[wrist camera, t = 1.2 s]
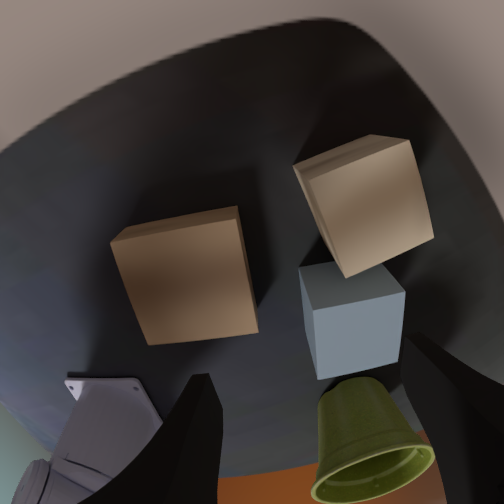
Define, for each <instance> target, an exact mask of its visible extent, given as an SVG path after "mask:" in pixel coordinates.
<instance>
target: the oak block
mask: <svg viewBox="0 0 504 504" xmlns="http://www.w3.org/2000/svg"><path fill="white" fill-rule="evenodd" d="M110 245H111V248H112V251H113V254H114V257H115V260H116V263H117V266H118V269H119V272H120V274H121V277H122V280H123V283H124V286H125V288H126V291H127V294H128V296H129V299H130V302H131V304H132V307H133V309H134V312H135V314H136V317H137V319H138V322H139V324H140V327H141V329H142V332H143V334H144V336H145V339H146V341H147V343H148V345H157V344H168V343H179V342H188V341H198V340H206V339H215V338H223V337H231V336H238V335H245V334H252V333H259V331H258V314H257V305H256V300H255V295H254V290H253V285H252V279H251V274H250V269H249V264H248V259H247V253H246V248H245V243H244V238H243V233H242V227H241V222H240V217H239V212H238V206H232V207H226V208H220V209H215V210H209V211H204V212H199V213H193V214H188V215H183V216H178V217H173V218H168V219H163V220H158V221H153V222H148V223H143V224H138V225H134V226H129V227H126V228H125V229H124V230H122V231H121V232H120V233H119V234H118V235H117V236H116V237H115V238H114V239H113V240H112V241H111V242H110Z"/></svg>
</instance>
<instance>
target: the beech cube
mask: <svg viewBox="0 0 504 504" xmlns="http://www.w3.org/2000/svg"><path fill="white" fill-rule="evenodd" d="M292 166H293V168H294V170H295V173H296V175H297V177H298V180H299V182H300V184H301V187H302V189H303V192H304V194H305V196H306V199H307V201H308V204H309V206H310V209H311V211H312V213H313V216H314V218H315V221H316V223H317V226H318V228H319V231H320V234H321V236H322V239H323V241H324V243H325V245H326V246H327V248H328V250H329V251H330V253H331V254H332V256H333V258H334V259H335V261H336V263H337V264H338V266H339V268H340V270H341V271H342V273H343V275H344V276H345V278H348V277H350V276H353V275H355V274H357V273H360V272H362V271H364V270H366V269H368V268H371V267H373V266H375V265H377V264H380V263H382V262H384V261H386V260H388V259H390V258H393V257H395V256H397V255H399V254H401V253H403V252H405V251H407V250H410V249H412V248H414V247H416V246H418V245H420V244H422V243H424V242H426V241H428V240H430V239H432V238H434V235H433V230H432V225H431V220H430V216H429V211H428V207H427V202H426V198H425V194H424V190H423V186H422V182H421V178H420V175H419V171H418V167H417V164H416V160H415V157H414V154H413V150H412V147H411V144H410V141H409V140H406V139H400V138H393V137H386V136H379V135H371V134H370V135H367V136H364V137H362V138H359V139H357V140H354V141H351V142H349V143H346V144H344V145H341V146H339V147H336V148H334V149H331V150H329V151H326V152H324V153H321V154H319V155H316V156H314V157H312V158H309V159H307V160H304V161H302V162H300V163H297V164H295V165H292Z"/></svg>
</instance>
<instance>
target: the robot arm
mask: <svg viewBox="0 0 504 504" xmlns="http://www.w3.org/2000/svg"><path fill="white" fill-rule="evenodd" d="M400 377H401V380H402V383H403V386H404V388H405V391H406V394H407V397H408V399H409V401H410V403H411V405H412V407H413V409H414V411H415V413H416V414H417V416H418V418H419V420H420V422H421V424H422V426H423V428H424V430H425V433H426V434H427V437H428V439H429V441H430V443H431V446H432V448H433V451H434V454H435V457H436V460H437V463H438V467H439V470H440V474H441V478H442V482H443V486H444V490H445V495H446V500H447V504H504V385H502V384H500V383H498V382H496V381H494V380H492V379H490V378H488V377H486V376H484V375H482V374H481V373H479V372H477V371H476V370H474V369H472V368H471V367H469V366H467V365H466V364H464V363H463V362H461V361H460V360H458V359H457V358H455V357H454V356H452V355H451V354H450V353H448V352H447V351H445V350H444V349H442V348H441V347H440V346H438V345H437V344H435V343H434V342H433V341H431V340H430V339H429V338H427V337H426V336H424V335H423V334H421V333H420V332H418V333H414V334H411V335H407V336H405V340H404V348H403V356H402V363H401V369H400ZM65 384H66V386H67V387H68V389H69V390H70V392H71V393H72V395H73V396H74V397H75V399H76V400H77V402H76V404H75V406H74V408H73V410H72V412H71V415H70V417H69V419H68V421H67V423H66V425H65V427H64V430H63V432H62V434H61V436H60V438H59V441H58V443H57V445H56V447H55V450H54V452H53V454H52V457H51V459H50V461H48V462H47V461H45V460H44V459H40V460H34V461H32V462H31V463H30V465H29V466H28V467H27V469H26V471H25V473H24V474H23V476H22V478H21V480H20V482H19V485H18V487H17V489H16V491H15V494H14V497H13V500H12V503H11V504H217V486H218V474H219V466H220V457H221V448H222V439H223V408H222V405H221V403H220V400H219V398H218V396H217V393H216V391H215V388H214V385H213V383H212V380H211V378H210V375H209V373H206V374H196V375H192V376H191V377H190V379H189V381H188V383H187V384H186V386H185V388H184V390H183V392H182V393H181V395H180V397H179V398H178V400H177V402H176V403H175V405H174V407H173V408H172V410H171V411H170V413H169V414H168V416H167V418H166V419H165V421H164V422H163V421H162V420H161V418H160V416H159V415H158V413H157V411H156V409H155V408H154V406H153V404H152V402H151V401H150V399H149V397H148V395H147V394H146V392H145V390H144V388H143V386H142V384H141V382H140V381H139V380H138V379H136V378H66V379H65Z"/></svg>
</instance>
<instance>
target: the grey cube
mask: <svg viewBox="0 0 504 504" xmlns="http://www.w3.org/2000/svg"><path fill="white" fill-rule="evenodd" d="M298 268H299V276H300V285H301V294H302V303H303V312H304V321H305V331H306V335H307V339H308V343H309V347H310V351H311V354H312V358H313V362H314V366H315V370H316V374H317V378H318V380H321V379H326V378H331V377H336V376H341V375H345V374H350V373H354V372H359V371H363V370H367V369H371V368H375V367H379V366H383V365H387V364H391V363H395V362H398V356H399V349H400V341H401V333H402V325H403V315H404V305H405V292H406V291H405V290H404V289H403V288H402V287H401V285H400V284H399V283H398V282H397V281H396V279H395V278H394V277H393V276H392V275H391V274H390V272H389V271H388V270H387V269H386V268H385V267H384V265H383V264H382V263H380V264H377V265H375V266H373V267H371V268H368V269H366V270H364V271H362V272H360V273H357V274H355V275H353V276H350V277H348V278H345V276H344V275H343V273H342V271H341V270H340V268H339V266H338V264H337V263H336V261H332V262H327V263H321V264H315V265H309V266H303V267H298Z"/></svg>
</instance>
